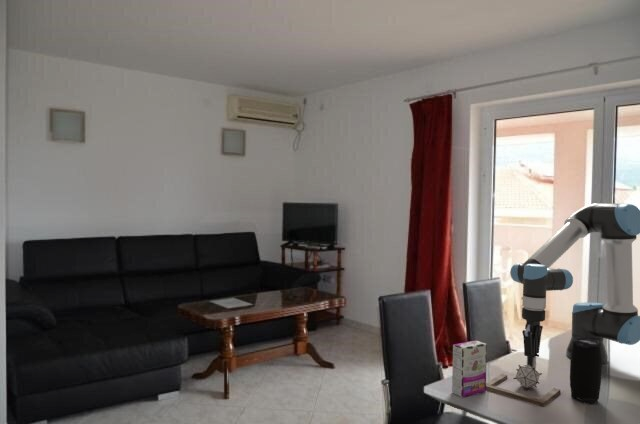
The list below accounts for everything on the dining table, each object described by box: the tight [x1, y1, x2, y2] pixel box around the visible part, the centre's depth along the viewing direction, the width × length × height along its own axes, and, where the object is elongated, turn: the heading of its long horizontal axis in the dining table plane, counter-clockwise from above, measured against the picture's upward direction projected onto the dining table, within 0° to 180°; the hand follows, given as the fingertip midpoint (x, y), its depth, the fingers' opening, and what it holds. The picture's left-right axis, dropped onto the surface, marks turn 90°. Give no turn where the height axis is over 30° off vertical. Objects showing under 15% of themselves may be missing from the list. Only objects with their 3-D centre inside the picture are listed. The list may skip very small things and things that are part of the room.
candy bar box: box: [451, 339, 488, 399], centre depth 160 cm, size 11×5×16 cm, turn 119°
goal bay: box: [486, 373, 561, 407], centre depth 163 cm, size 16×20×1 cm
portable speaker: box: [569, 337, 603, 405], centre depth 157 cm, size 9×9×20 cm
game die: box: [512, 363, 543, 391], centre depth 166 cm, size 9×8×10 cm
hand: (530, 374), depth 170 cm, fingers closed
